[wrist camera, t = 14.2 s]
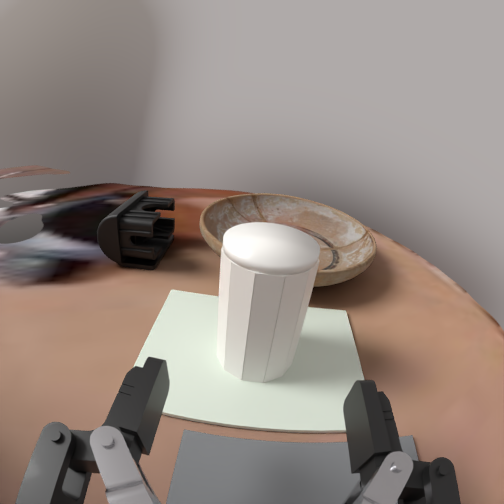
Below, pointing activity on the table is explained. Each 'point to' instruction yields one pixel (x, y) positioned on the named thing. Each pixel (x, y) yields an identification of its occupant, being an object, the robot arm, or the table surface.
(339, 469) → the mat
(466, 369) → the table surface
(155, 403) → the robot arm
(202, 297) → the board
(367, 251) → the ceramic bowl
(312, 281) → the white lidded canister
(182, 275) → the table surface
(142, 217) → the end cap
